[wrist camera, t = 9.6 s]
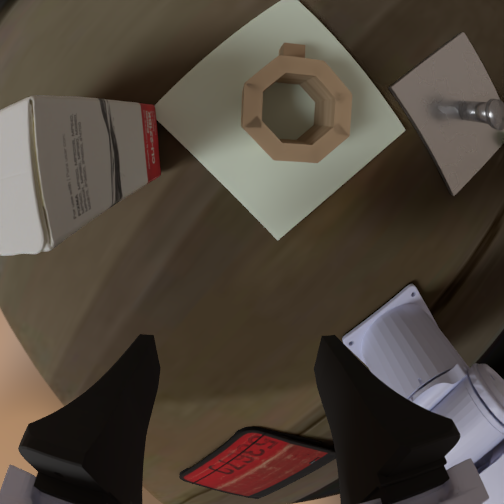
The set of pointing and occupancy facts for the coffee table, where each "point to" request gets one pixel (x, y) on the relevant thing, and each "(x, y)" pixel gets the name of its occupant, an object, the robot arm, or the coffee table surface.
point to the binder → (258, 463)
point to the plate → (453, 110)
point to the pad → (274, 118)
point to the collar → (318, 88)
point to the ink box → (69, 165)
